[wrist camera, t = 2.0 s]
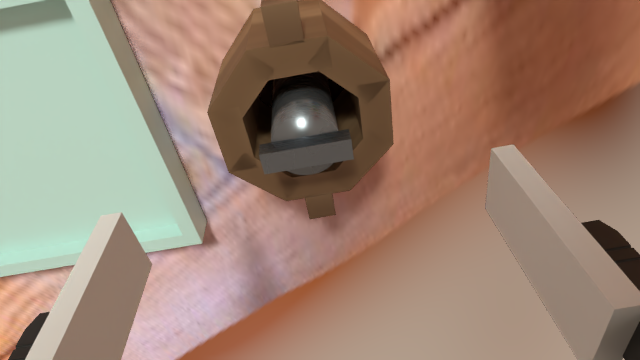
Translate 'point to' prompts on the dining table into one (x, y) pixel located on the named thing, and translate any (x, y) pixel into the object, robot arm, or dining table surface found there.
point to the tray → (81, 139)
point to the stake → (304, 128)
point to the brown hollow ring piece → (295, 59)
